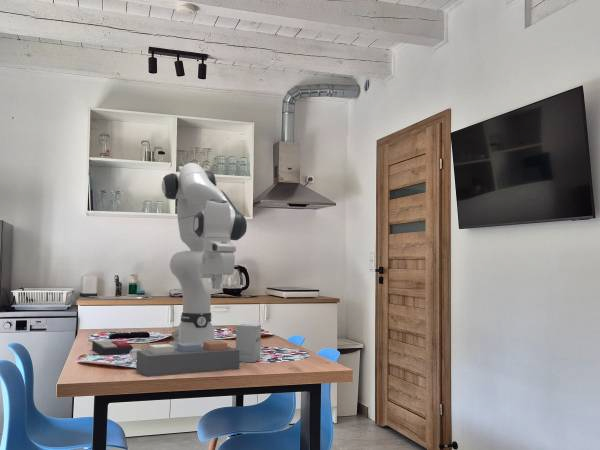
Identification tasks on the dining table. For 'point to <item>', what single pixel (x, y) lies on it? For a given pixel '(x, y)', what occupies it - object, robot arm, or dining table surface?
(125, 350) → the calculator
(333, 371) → the dining table surface
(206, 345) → the terracotta key
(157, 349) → the cream key
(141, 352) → the key console
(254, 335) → the supplement box
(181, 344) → the slate key
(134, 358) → the white curved piece
